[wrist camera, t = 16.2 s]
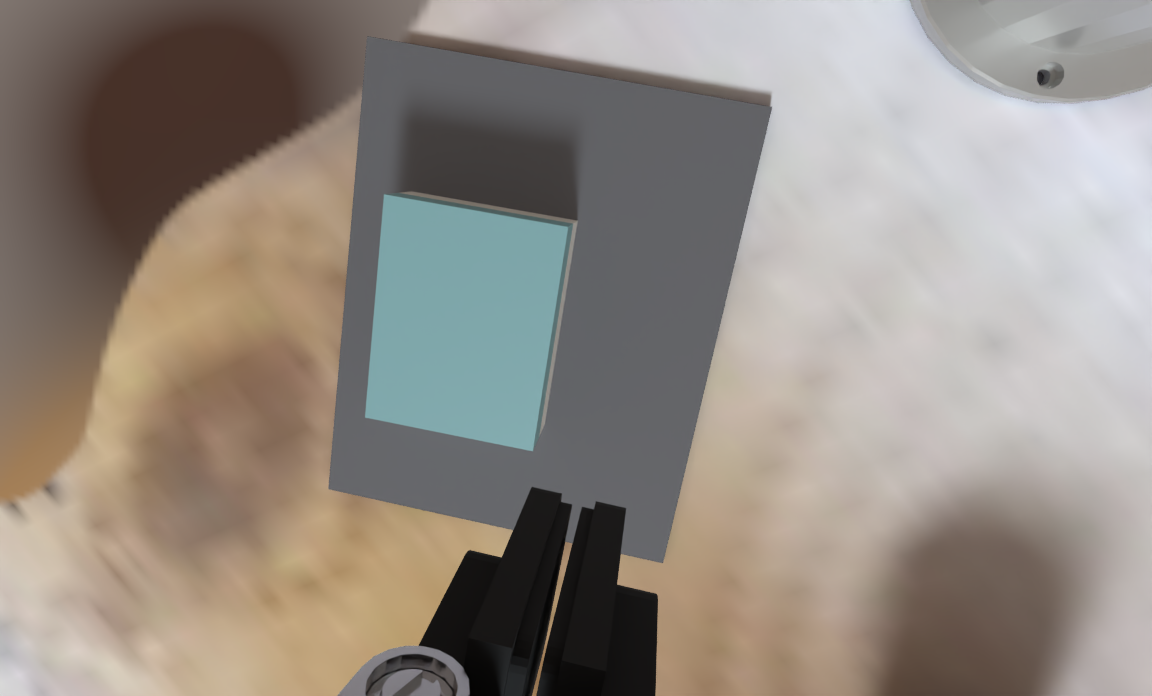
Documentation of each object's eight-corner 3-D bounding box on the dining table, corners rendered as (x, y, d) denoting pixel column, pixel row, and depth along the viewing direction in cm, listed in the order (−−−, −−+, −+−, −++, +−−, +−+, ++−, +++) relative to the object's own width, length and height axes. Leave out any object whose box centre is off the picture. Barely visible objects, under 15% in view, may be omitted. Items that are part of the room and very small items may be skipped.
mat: (371, 37, 28) (367, 36, 27) (770, 107, 27) (772, 106, 26) (332, 485, 33) (328, 489, 33) (662, 558, 32) (662, 563, 32)
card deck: (577, 220, 28) (411, 191, 29) (568, 226, 25) (383, 194, 26) (544, 424, 31) (392, 394, 31) (532, 451, 28) (364, 417, 28)
